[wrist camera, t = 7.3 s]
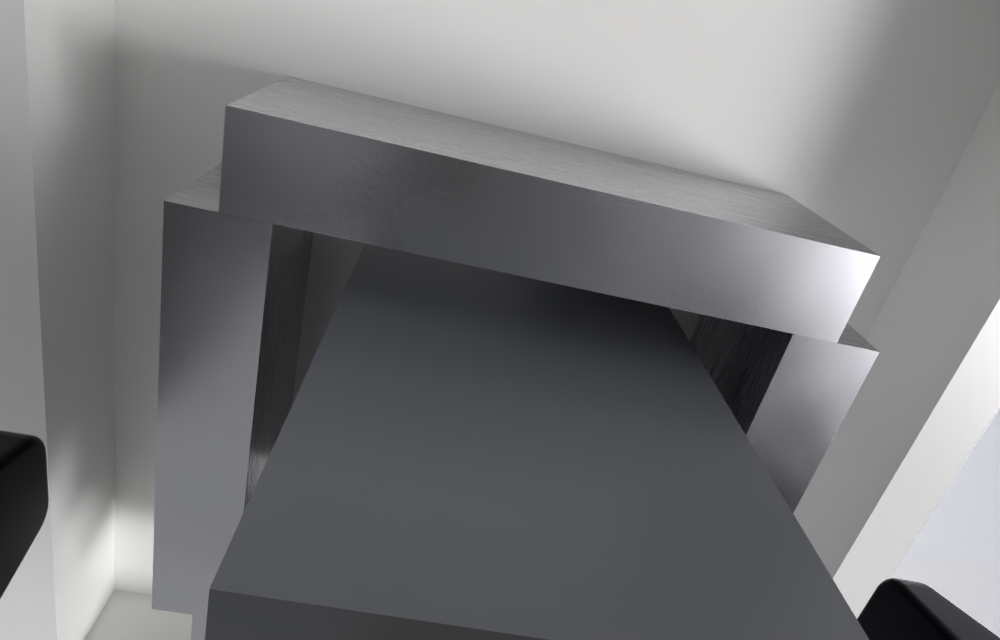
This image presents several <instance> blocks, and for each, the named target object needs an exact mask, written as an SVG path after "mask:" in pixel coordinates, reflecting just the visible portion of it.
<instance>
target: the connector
mask: <svg viewBox="0 0 1000 640" xmlns="http://www.w3.org/2000/svg"><path fill="white" fill-rule="evenodd" d="M205 640H869V638H868V637H867V635H866V633H865V632H864V630H863V628H862V627H861V625H860V623H859V622H858V620H857V619H856V617H855V615H854V614H853V612H852V610H851V609H850V607H849V605H848V604H847V602H846V600H845V599H844V597H843V595H842V594H841V592H840V590H839V589H838V587H837V585H836V584H835V582H834V580H833V579H832V577H831V575H830V574H829V572H828V570H827V569H826V567H825V566H824V564H823V562H822V561H821V559H820V557H819V556H818V554H817V552H816V551H815V549H814V547H813V546H812V544H811V542H810V541H809V539H808V537H807V536H806V534H805V532H804V531H803V529H802V527H801V526H800V524H799V522H798V521H797V519H796V517H795V516H794V514H793V512H792V511H791V509H790V508H789V506H788V504H787V503H786V501H785V499H784V498H783V496H782V494H781V493H780V491H779V489H778V488H777V486H776V484H775V483H774V481H773V479H772V478H771V476H770V474H769V473H768V471H767V469H766V468H765V466H764V464H763V463H762V461H761V459H760V458H759V456H758V454H757V453H756V451H755V450H754V448H753V446H752V445H751V443H750V441H749V440H748V438H747V436H746V435H745V433H744V431H743V430H742V428H741V426H740V425H739V423H738V421H737V420H736V418H735V416H734V415H733V413H732V411H731V410H730V408H729V406H728V405H727V403H726V401H725V400H724V398H723V397H722V395H721V393H720V392H719V390H718V388H717V387H716V385H715V383H714V382H713V380H712V378H711V377H710V375H709V373H708V372H707V370H706V368H705V367H704V365H703V363H702V362H701V360H700V358H699V357H698V355H697V353H696V352H695V350H694V348H693V347H692V345H691V343H690V342H689V340H688V339H687V337H686V335H685V334H684V332H683V330H682V329H681V327H680V325H679V324H678V322H677V320H676V319H675V317H674V315H673V314H672V312H671V310H670V309H669V307H664V306H660V305H655V304H650V303H645V302H641V301H636V300H631V299H626V298H622V297H617V296H612V295H607V294H603V293H598V292H593V291H589V290H584V289H579V288H574V287H570V286H565V285H560V284H555V283H551V282H546V281H541V280H537V279H532V278H527V277H522V276H518V275H513V274H508V273H503V272H499V271H494V270H489V269H485V268H480V267H475V266H470V265H466V264H461V263H456V262H451V261H447V260H442V259H437V258H432V257H428V256H423V255H418V254H414V253H409V252H404V251H399V250H395V249H390V248H385V247H380V246H376V245H371V244H366V243H365V244H364V246H363V249H362V251H361V253H360V255H359V258H358V260H357V262H356V264H355V266H354V269H353V271H352V273H351V275H350V278H349V280H348V282H347V284H346V286H345V289H344V291H343V293H342V295H341V298H340V300H339V302H338V304H337V306H336V309H335V311H334V313H333V315H332V318H331V320H330V322H329V324H328V326H327V329H326V331H325V333H324V335H323V338H322V340H321V342H320V344H319V346H318V349H317V351H316V353H315V355H314V358H313V360H312V362H311V364H310V366H309V369H308V371H307V373H306V375H305V378H304V380H303V382H302V384H301V386H300V389H299V391H298V393H297V395H296V397H295V400H294V402H293V404H292V406H291V409H290V411H289V413H288V415H287V417H286V420H285V422H284V424H283V426H282V429H281V431H280V433H279V435H278V437H277V440H276V442H275V444H274V446H273V449H272V451H271V453H270V455H269V457H268V460H267V462H266V464H265V466H264V469H263V471H262V473H261V475H260V477H259V480H258V482H257V484H256V486H255V489H254V491H253V493H252V495H251V497H250V500H249V502H248V504H247V506H246V509H245V511H244V513H243V515H242V517H241V520H240V522H239V524H238V526H237V529H236V531H235V533H234V535H233V537H232V540H231V542H230V544H229V546H228V549H227V551H226V553H225V555H224V557H223V560H222V562H221V564H220V566H219V569H218V571H217V573H216V575H215V577H214V580H213V582H212V584H211V586H210V589H209V598H208V609H207V621H206V632H205Z"/></svg>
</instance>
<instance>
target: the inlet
mask: <svg viewBox="0 0 1000 640" xmlns="http://www.w3.org/2000/svg"><path fill="white" fill-rule="evenodd" d="M314 233H319V234H324V235H328V236H333V237H338V238H343V239H347V240H352V241H357V242H362V243H366V244H371V245H376V246H380V247H385V248H390V249H395V250H399V251H404V252H409V253H414V254H418V255H423V256H428V257H432V258H437V259H442V260H447V261H451V262H456V263H461V264H466V265H470V266H475V267H480V268H485V269H489V270H494V271H499V272H503V273H508V274H513V275H518V276H522V277H527V278H532V279H537V280H541V281H546V282H551V283H555V284H560V285H565V286H570V287H574V288H579V289H584V290H589V291H593V292H598V293H603V294H607V295H612V296H617V297H622V298H626V299H631V300H636V301H641V302H645V303H650V304H655V305H660V306H664V307H669V308H674V309H678V310H683V311H688V312H693V313H697V314H700V316H699V319H698V322H697V324H696V327H695V329H694V332H693V334H692V337H691V339H690V343H691V345H692V347H693V348H694V350H695V352H696V353H697V355H698V357H699V358H700V360H701V362H702V363H703V365H704V367H705V368H706V370H707V372H708V373H709V375H710V377H711V378H712V380H713V382H714V383H715V385H716V387H717V388H718V390H719V392H720V393H721V395H722V397H723V398H724V400H725V401H726V403H727V405H728V406H729V408H730V410H731V411H732V413H733V415H734V416H735V418H736V420H737V421H738V423H739V425H740V426H741V428H742V430H743V431H744V433H745V435H746V436H747V438H748V440H749V441H750V443H751V445H752V446H753V448H754V450H755V451H756V453H757V454H758V456H759V458H760V459H761V461H762V463H763V464H764V466H765V468H766V469H767V471H768V473H769V474H770V476H771V478H772V479H773V481H774V483H775V484H776V486H777V488H778V489H779V491H780V493H781V494H782V496H783V498H784V499H785V501H786V503H787V504H788V506H789V508H790V509H791V511H792V512H793V513H794V511H795V509H796V507H797V505H798V503H799V502H800V500H801V498H802V496H803V494H804V492H805V490H806V489H807V487H808V485H809V483H810V481H811V479H812V477H813V475H814V474H815V472H816V470H817V468H818V466H819V464H820V462H821V460H822V459H823V457H824V455H825V453H826V451H827V449H828V447H829V446H830V444H831V442H832V440H833V438H834V436H835V434H836V432H837V431H838V429H839V427H840V425H841V423H842V421H843V419H844V418H845V416H846V414H847V412H848V410H849V408H850V406H851V404H852V403H853V401H854V399H855V397H856V395H857V393H858V391H859V389H860V388H861V386H862V384H863V382H864V380H865V378H866V376H867V375H868V373H869V371H870V369H871V367H872V365H873V363H874V361H875V360H876V358H877V356H878V354H879V351H878V350H877V349H876V348H875V347H873V346H872V345H871V344H870V343H869V342H868V341H867V340H866V339H864V338H863V337H862V336H861V335H860V334H859V333H858V332H857V331H856V330H854V329H853V328H852V327H851V326H850V325H849V324H848V323H847V322H848V320H849V318H850V316H851V314H852V312H853V310H854V308H855V306H856V304H857V302H858V300H859V298H860V296H861V294H862V292H863V290H864V288H865V286H866V284H867V282H868V280H869V278H870V276H871V274H872V272H873V270H874V268H875V266H876V264H877V262H878V260H879V258H880V256H879V255H878V254H876V253H875V252H873V251H872V250H870V249H869V248H867V247H866V246H864V245H863V244H861V243H859V242H858V241H856V240H855V239H853V238H852V237H850V236H849V235H847V234H846V233H844V232H843V231H841V230H840V229H838V228H837V227H835V226H834V225H832V224H831V223H829V222H828V221H826V220H824V219H823V218H821V217H820V216H818V215H817V214H815V213H814V212H812V211H811V210H809V209H808V208H806V207H805V206H803V205H802V204H800V203H799V202H797V201H796V200H794V199H793V198H791V197H790V196H788V195H786V194H781V193H777V192H773V191H769V190H765V189H760V188H756V187H752V186H748V185H744V184H740V183H735V182H731V181H727V180H723V179H719V178H714V177H710V176H706V175H702V174H698V173H693V172H689V171H685V170H681V169H677V168H672V167H668V166H664V165H660V164H656V163H652V162H647V161H643V160H639V159H635V158H631V157H626V156H622V155H618V154H614V153H610V152H605V151H601V150H597V149H593V148H589V147H585V146H580V145H576V144H572V143H568V142H564V141H559V140H555V139H551V138H547V137H543V136H538V135H534V134H530V133H526V132H522V131H517V130H513V129H509V128H505V127H501V126H497V125H492V124H488V123H484V122H480V121H476V120H471V119H467V118H463V117H459V116H455V115H450V114H446V113H442V112H438V111H434V110H430V109H425V108H421V107H417V106H413V105H409V104H404V103H400V102H396V101H392V100H388V99H383V98H379V97H375V96H371V95H367V94H362V93H358V92H354V91H350V90H346V89H342V88H337V87H333V86H329V85H325V84H321V83H316V82H312V81H308V80H304V79H300V78H295V77H291V76H289V77H287V78H285V79H283V80H281V81H278V82H276V83H274V84H272V85H269V86H267V87H265V88H263V89H260V90H258V91H256V92H254V93H252V94H249V95H247V96H245V97H243V98H240V99H238V100H236V101H234V102H232V103H229V104H227V105H226V107H225V122H224V137H223V153H222V162H221V163H220V164H218V165H217V166H215V167H214V168H212V169H211V170H209V171H208V172H206V173H205V174H203V175H202V176H200V177H199V178H197V179H196V180H194V181H193V182H191V183H190V184H188V185H187V186H185V187H184V188H182V189H181V190H179V191H178V192H176V193H175V194H173V195H172V196H170V197H169V198H167V199H166V200H164V211H163V245H162V278H161V312H160V345H159V379H158V412H157V446H156V479H155V513H154V546H153V580H152V609H156V610H163V611H170V612H178V613H185V614H192V629H191V640H205V632H206V621H207V609H208V598H209V589H210V586H211V584H212V582H213V580H214V577H215V575H216V573H217V571H218V569H219V566H220V564H221V562H222V560H223V557H224V555H225V553H226V551H227V549H228V546H229V544H230V542H231V540H232V537H233V535H234V533H235V531H236V529H237V526H238V524H239V522H240V520H241V517H242V515H243V513H244V511H245V509H246V506H247V504H248V502H249V500H250V497H251V495H252V493H253V491H254V489H255V486H256V484H257V482H258V480H259V477H260V475H261V473H262V471H263V469H264V466H265V464H266V462H267V460H268V457H269V455H270V453H271V451H272V449H273V446H274V444H275V442H276V440H277V437H278V435H279V433H280V431H281V429H282V426H283V424H284V422H285V420H286V417H287V415H288V413H289V411H290V409H291V406H292V399H293V391H294V384H295V376H296V368H297V360H298V352H299V344H300V336H301V329H302V321H303V313H304V305H305V297H306V289H307V282H308V274H309V266H310V258H311V250H312V242H313V234H314Z"/></svg>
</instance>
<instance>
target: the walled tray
mask: <svg viewBox="0 0 1000 640" xmlns="http://www.w3.org/2000/svg"><path fill="white" fill-rule="evenodd" d="M289 76H291V77H295V78H300V79H304V80H308V81H312V82H316V83H321V84H325V85H329V86H333V87H337V88H342V89H346V90H350V91H354V92H358V93H362V94H367V95H371V96H375V97H379V98H383V99H388V100H392V101H396V102H400V103H404V104H409V105H413V106H417V107H421V108H425V109H430V110H434V111H438V112H442V113H446V114H450V115H455V116H459V117H463V118H467V119H471V120H476V121H480V122H484V123H488V124H492V125H497V126H501V127H505V128H509V129H513V130H517V131H522V132H526V133H530V134H534V135H538V136H543V137H547V138H551V139H555V140H559V141H564V142H568V143H572V144H576V145H580V146H585V147H589V148H593V149H597V150H601V151H605V152H610V153H614V154H618V155H622V156H626V157H631V158H635V159H639V160H643V161H647V162H652V163H656V164H660V165H664V166H668V167H672V168H677V169H681V170H685V171H689V172H693V173H698V174H702V175H706V176H710V177H714V178H719V179H723V180H727V181H731V182H735V183H740V184H744V185H748V186H752V187H756V188H760V189H765V190H769V191H773V192H777V193H781V194H786V195H788V196H790V197H791V198H793V199H794V200H796V201H797V202H799V203H800V204H802V205H803V206H805V207H806V208H808V209H809V210H811V211H812V212H814V213H815V214H817V215H818V216H820V217H821V218H823V219H824V220H826V221H828V222H829V223H831V224H832V225H834V226H835V227H837V228H838V229H840V230H841V231H843V232H844V233H846V234H847V235H849V236H850V237H852V238H853V239H855V240H856V241H858V242H859V243H861V244H863V245H864V246H866V247H867V248H869V249H870V250H872V251H873V252H875V253H876V254H878V255H879V256H880V258H879V260H878V262H877V264H876V266H875V268H874V270H873V272H872V274H871V276H870V278H869V280H868V282H867V284H866V286H865V288H864V290H863V292H862V294H861V296H860V298H859V300H858V302H857V304H856V306H855V308H854V310H853V312H852V314H851V316H850V318H849V320H848V322H847V323H848V324H849V325H850V326H851V327H852V328H853V329H854V330H856V331H857V332H858V333H859V334H860V335H861V336H862V337H863V338H864V339H866V340H867V341H868V342H869V343H870V344H871V345H872V346H873V347H875V348H876V349H877V350H878V351H879V354H878V356H877V358H876V360H875V361H874V363H873V365H872V367H871V369H870V371H869V373H868V375H867V376H866V378H865V380H864V382H863V384H862V386H861V388H860V389H859V391H858V393H857V395H856V397H855V399H854V401H853V403H852V404H851V406H850V408H849V410H848V412H847V414H846V416H845V418H844V419H843V421H842V423H841V425H840V427H839V429H838V431H837V432H836V434H835V436H834V438H833V440H832V442H831V444H830V446H829V447H828V449H827V451H826V453H825V455H824V457H823V459H822V460H821V462H820V464H819V466H818V468H817V470H816V472H815V474H814V475H813V477H812V479H811V481H810V483H809V485H808V487H807V489H806V490H805V492H804V494H803V496H802V498H801V500H800V502H799V503H798V505H797V507H796V509H795V511H794V513H793V514H794V516H795V517H796V519H797V521H798V522H799V524H800V526H801V527H802V529H803V531H804V532H805V534H806V536H807V537H808V539H809V541H810V542H811V544H812V546H813V547H814V549H815V551H816V552H817V554H818V556H819V557H820V559H821V561H822V562H823V564H824V566H825V567H826V569H827V570H828V572H829V574H830V575H831V577H832V579H833V580H834V582H835V584H836V585H837V587H838V589H839V590H840V592H841V594H842V595H843V597H844V599H845V600H846V602H847V604H848V605H849V607H850V609H851V610H852V612H853V614H854V615H855V617H856V619H857V618H858V616H859V615H860V613H861V612H862V610H863V609H864V607H865V605H866V604H867V602H868V601H869V599H870V598H871V596H872V594H873V593H874V591H875V590H876V588H877V587H878V585H879V584H880V583H881V582H883V581H885V580H886V579H890V578H891V576H892V574H893V573H894V571H895V570H896V568H897V567H898V565H899V564H900V562H901V561H902V559H903V557H904V556H905V554H906V553H907V551H908V550H909V548H910V547H911V545H912V543H913V542H914V540H915V539H916V537H917V536H918V534H919V533H920V531H921V529H922V528H923V526H924V525H925V523H926V522H927V520H928V519H929V517H930V516H931V514H932V512H933V511H934V509H935V508H936V506H937V505H938V503H939V502H940V500H941V498H942V497H943V495H944V494H945V492H946V491H947V489H948V488H949V486H950V485H951V483H952V481H953V480H954V478H955V477H956V475H957V474H958V472H959V471H960V469H961V467H962V466H963V464H964V463H965V461H966V460H967V458H968V457H969V455H970V453H971V452H972V450H973V449H974V447H975V446H976V444H977V443H978V441H979V440H980V438H981V436H982V435H983V433H984V432H985V430H986V429H987V427H988V426H989V424H990V422H991V421H992V419H993V418H994V416H995V415H996V413H997V412H998V410H999V409H1000V0H0V430H4V431H10V432H16V433H22V434H28V435H34V436H37V437H38V438H40V439H41V440H42V441H43V443H44V445H45V449H46V459H47V478H48V497H49V503H48V511H47V514H46V518H45V520H44V523H43V525H42V527H41V529H40V531H39V533H38V534H37V536H36V538H35V540H34V541H33V543H32V545H31V547H30V548H29V550H28V552H27V554H26V555H25V557H24V559H23V561H22V562H21V564H20V566H19V568H18V569H17V571H16V573H15V575H14V576H13V578H12V580H11V582H10V583H9V585H8V587H7V589H6V590H5V592H4V594H3V596H2V597H1V599H0V640H191V629H192V614H185V613H178V612H170V611H163V610H156V609H152V580H153V546H154V513H155V479H156V446H157V412H158V379H159V345H160V312H161V278H162V245H163V211H164V200H166V199H167V198H169V197H170V196H172V195H173V194H175V193H176V192H178V191H179V190H181V189H182V188H184V187H185V186H187V185H188V184H190V183H191V182H193V181H194V180H196V179H197V178H199V177H200V176H202V175H203V174H205V173H206V172H208V171H209V170H211V169H212V168H214V167H215V166H217V165H218V164H220V163H221V162H222V153H223V137H224V122H225V107H226V105H227V104H229V103H232V102H234V101H236V100H238V99H240V98H243V97H245V96H247V95H249V94H252V93H254V92H256V91H258V90H260V89H263V88H265V87H267V86H269V85H272V84H274V83H276V82H278V81H281V80H283V79H285V78H287V77H289ZM364 244H365V243H362V242H357V241H352V240H347V239H343V238H338V237H333V236H328V235H324V234H319V233H314V234H313V242H312V250H311V258H310V266H309V274H308V282H307V289H306V297H305V305H304V313H303V321H302V329H301V336H300V344H299V352H298V360H297V368H296V376H295V384H294V391H293V399H292V404H293V402H294V400H295V397H296V395H297V393H298V391H299V389H300V386H301V384H302V382H303V380H304V378H305V375H306V373H307V371H308V369H309V366H310V364H311V362H312V360H313V358H314V355H315V353H316V351H317V349H318V346H319V344H320V342H321V340H322V338H323V335H324V333H325V331H326V329H327V326H328V324H329V322H330V320H331V318H332V315H333V313H334V311H335V309H336V306H337V304H338V302H339V300H340V298H341V295H342V293H343V291H344V289H345V286H346V284H347V282H348V280H349V278H350V275H351V273H352V271H353V269H354V266H355V264H356V262H357V260H358V258H359V255H360V253H361V251H362V249H363V246H364ZM669 309H670V310H671V312H672V314H673V315H674V317H675V319H676V320H677V322H678V324H679V325H680V327H681V329H682V330H683V332H684V334H685V335H686V337H687V339H688V340H689V342H690V339H691V337H692V334H693V332H694V329H695V327H696V324H697V322H698V319H699V316H700V314H697V313H693V312H688V311H683V310H678V309H674V308H669Z"/></svg>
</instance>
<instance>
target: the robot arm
mask: <svg viewBox="0 0 1000 640" xmlns="http://www.w3.org/2000/svg"><path fill="white" fill-rule="evenodd" d="M48 503H49V497H48V478H47V459H46V449H45V445H44V443H43V441H42V440H41V439H40V438H38V437H37V436H34V435H28V434H22V433H16V432H10V431H4V430H0V599H1V597H2V596H3V594H4V592H5V590H6V589H7V587H8V585H9V583H10V582H11V580H12V578H13V576H14V575H15V573H16V571H17V569H18V568H19V566H20V564H21V562H22V561H23V559H24V557H25V555H26V554H27V552H28V550H29V548H30V547H31V545H32V543H33V541H34V540H35V538H36V536H37V534H38V533H39V531H40V529H41V527H42V525H43V523H44V520H45V518H46V514H47V511H48ZM857 620H858V622H859V623H860V625H861V627H862V628H863V630H864V632H865V633H866V635H867V637H868V638H869V640H1000V638H999V637H998V636H996V635H995V634H993V633H992V632H991V631H989V630H988V629H987V628H985V627H984V626H982V625H981V624H980V623H978V622H977V621H976V620H974V619H973V618H972V617H970V616H969V615H967V614H966V613H965V612H963V611H962V610H961V609H959V608H958V607H956V606H955V605H954V604H952V603H951V602H950V601H948V600H947V599H945V598H944V597H943V596H941V595H940V594H939V593H937V592H936V591H934V590H933V589H932V588H930V587H929V586H927V585H925V584H922V583H919V582H914V581H908V580H901V579H895V578H891V579H886V580H885V581H883V582H881V583H880V584H879V585H878V587H877V588H876V590H875V591H874V593H873V594H872V596H871V598H870V599H869V601H868V602H867V604H866V605H865V607H864V609H863V610H862V612H861V613H860V615H859V616H858V618H857Z"/></svg>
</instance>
